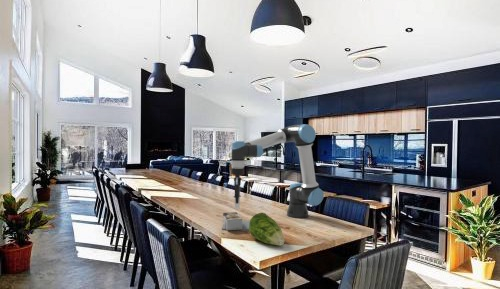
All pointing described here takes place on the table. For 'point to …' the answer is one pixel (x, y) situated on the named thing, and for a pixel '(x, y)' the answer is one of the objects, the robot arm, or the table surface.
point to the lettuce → (266, 229)
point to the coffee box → (232, 221)
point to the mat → (244, 226)
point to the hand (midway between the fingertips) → (237, 208)
